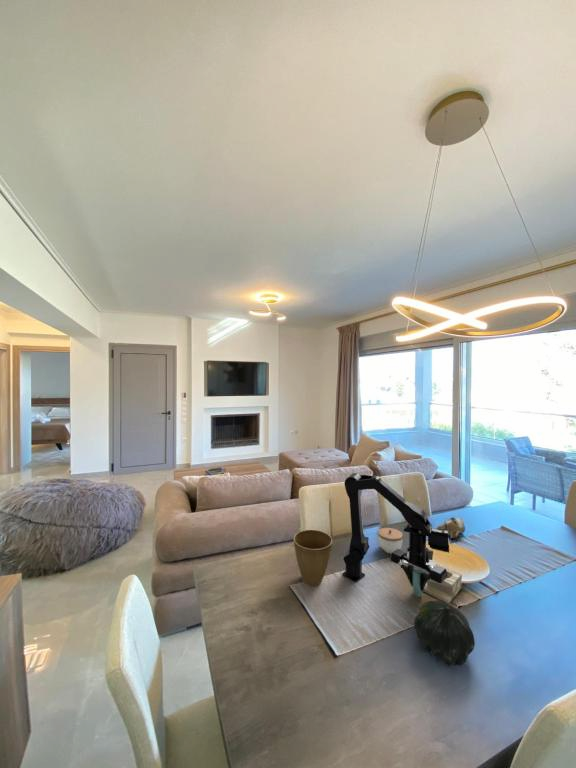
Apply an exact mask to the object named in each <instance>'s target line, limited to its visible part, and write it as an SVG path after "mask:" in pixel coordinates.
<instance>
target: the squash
mask: <svg viewBox="0 0 576 768" xmlns="http://www.w3.org/2000/svg"><path fill="white" fill-rule="evenodd" d="M413 624H414V625H413V626H414V627H413V628H414V631H415V635H416V636H417V638H418V639H419V641H420V642H421V645H422V647H423V648H424V650H425V651H426V652H428V653H431V655H432V656H433V657H435V658H438V659H439V658H440V659H441V661H442V662H443V664H445V665H447V666H448V667H449V666H452V665H453V664H455V665H458V666H459V665H462V664H465V663H466V662H467V660H468V657H469V655H470V654H472V652H473V651H474V649H475V644H476V642H475V641H476V640H475V637H474V633H473V630H472V628H471V626H470V623H469V621H468V619H467V617H466V615H465V614H464V613H463V612H462V611H461V610H459V608H456V607H455V606H453V605H452V604H450V603H449V604H448V603H446V602H444V601H442V600H429V601H425V602H423V603H422V604H421V606H420V608H419V610H418V612H417V614H416V616H415V618H414V621H413Z"/></svg>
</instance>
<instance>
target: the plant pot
mask: <svg viewBox="0 0 576 768" xmlns="http://www.w3.org/2000/svg"><path fill="white" fill-rule="evenodd" d="M293 544H294V545H293V546H294V551H295V557H296V561H297V566H298V568H299V572H300V575H301V578H302V580H303V583H305V584H306V585H308V586H318V585H320V584H321V583H322V581H323V579H324V576H325V574H326V570H327V568H328V564H329V560H330V555H331V552H332V546H333V539H332V536H330V534H329V533H328V532H327V533H326V532H324V531H322V530H318V529H305V530H301V531H299V532H298V531H297V533H295V535H294V536H293Z"/></svg>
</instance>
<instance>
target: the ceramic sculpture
mask: <svg viewBox="0 0 576 768" xmlns="http://www.w3.org/2000/svg"><path fill="white" fill-rule="evenodd" d="M435 529H437V530H444V531H448V532H449V538H451V539H456V538H458V537H459V535H460V534H464V533H465V531H466V526H465V522H464V520H463V518H462V517H461V516H460V517H457V518H455V517H449V519H447V520H444V523H443V524H440V525H438V526H437V527H436V528H435Z"/></svg>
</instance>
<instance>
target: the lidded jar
mask: <svg viewBox="0 0 576 768" xmlns="http://www.w3.org/2000/svg"><path fill="white" fill-rule="evenodd" d="M377 535H378V538H377V539H378V544H379V546H380V547H381V549H382V550H383V551H384V552H385V553H388V554H391V553H392V552H394V551H395V550H397V549H400V550H401V549H402V546H403V537H404V535H403V533H402V532H401V531H400V530H398V529H396V528H391V527H383V528H380V529H378V531H377Z"/></svg>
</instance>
